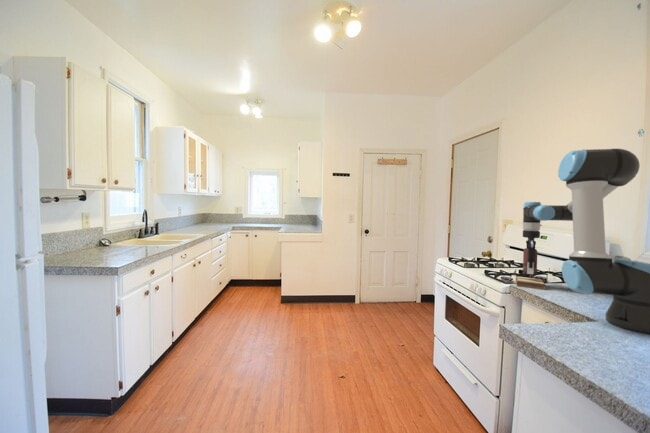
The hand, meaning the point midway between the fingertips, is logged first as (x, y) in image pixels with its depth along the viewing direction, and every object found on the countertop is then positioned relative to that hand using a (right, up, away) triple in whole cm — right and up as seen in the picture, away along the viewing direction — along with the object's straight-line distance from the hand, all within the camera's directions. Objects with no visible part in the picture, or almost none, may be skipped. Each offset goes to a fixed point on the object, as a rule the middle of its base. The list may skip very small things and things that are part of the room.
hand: (529, 273), depth 151 cm
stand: (0, -7, 0) cm, 7 cm away
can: (+1, -1, +1) cm, 2 cm away
